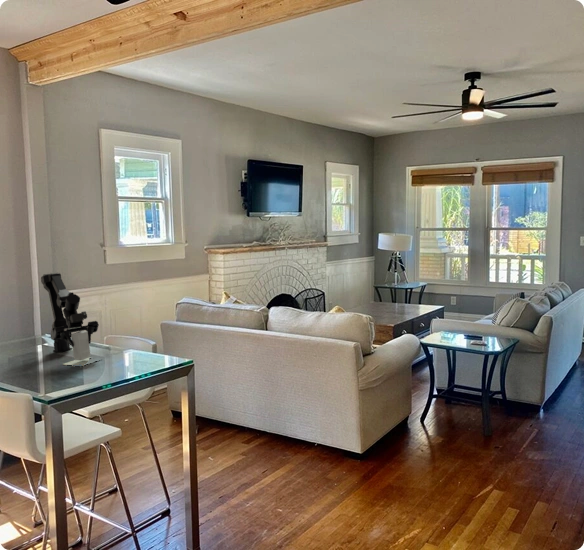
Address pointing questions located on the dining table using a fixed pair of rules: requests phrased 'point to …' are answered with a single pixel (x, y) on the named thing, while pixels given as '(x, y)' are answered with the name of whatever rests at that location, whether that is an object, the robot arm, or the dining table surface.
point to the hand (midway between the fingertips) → (81, 344)
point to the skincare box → (80, 345)
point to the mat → (77, 362)
